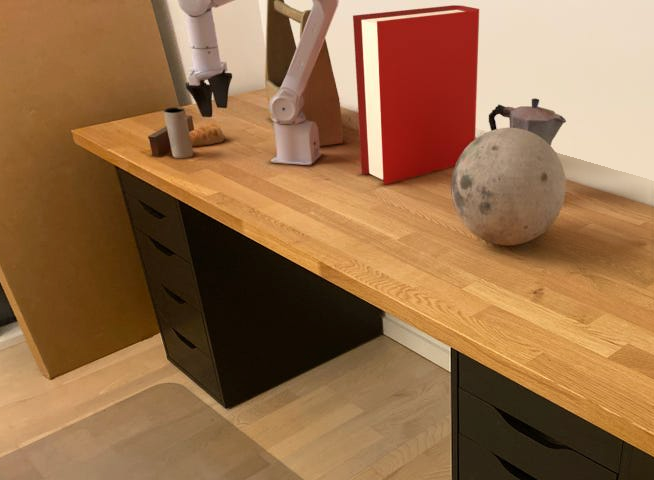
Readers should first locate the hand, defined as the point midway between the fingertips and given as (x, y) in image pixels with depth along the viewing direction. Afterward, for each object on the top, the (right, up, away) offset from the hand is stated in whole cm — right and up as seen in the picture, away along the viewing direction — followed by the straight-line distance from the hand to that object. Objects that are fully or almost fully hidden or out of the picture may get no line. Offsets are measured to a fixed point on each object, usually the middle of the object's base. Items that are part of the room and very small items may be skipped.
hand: (214, 112), depth 160 cm
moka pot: (+67, -22, -10) cm, 72 cm away
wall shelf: (-14, -3, +13) cm, 20 cm away
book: (+46, -11, +4) cm, 47 cm away
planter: (-10, -8, +7) cm, 14 cm away
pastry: (-8, -2, +16) cm, 17 cm away
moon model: (+63, -33, -28) cm, 77 cm away
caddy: (+15, +4, +25) cm, 29 cm away
